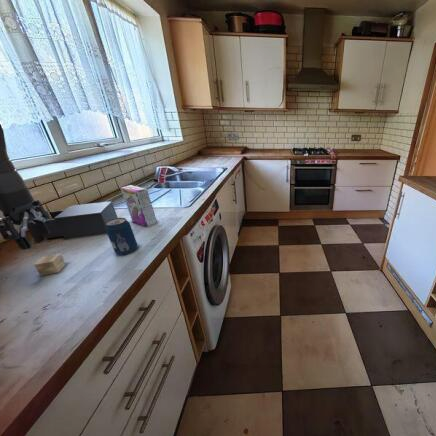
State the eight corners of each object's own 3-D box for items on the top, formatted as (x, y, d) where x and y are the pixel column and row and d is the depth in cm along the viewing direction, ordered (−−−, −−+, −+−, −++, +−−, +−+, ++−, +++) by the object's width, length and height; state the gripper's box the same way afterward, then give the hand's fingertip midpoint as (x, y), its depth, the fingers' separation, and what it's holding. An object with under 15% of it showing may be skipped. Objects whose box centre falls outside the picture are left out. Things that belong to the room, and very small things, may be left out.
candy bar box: (131, 222, 102) (119, 187, 95) (142, 218, 106) (131, 184, 99) (147, 227, 97) (135, 191, 90) (158, 223, 101) (147, 188, 94)
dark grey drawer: (19, 243, 85) (8, 225, 81) (38, 229, 95) (28, 212, 91) (78, 235, 90) (69, 217, 87) (90, 222, 100) (83, 206, 96)
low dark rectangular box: (65, 239, 89) (53, 218, 85) (80, 225, 100) (70, 205, 95) (109, 233, 93) (100, 212, 89) (119, 220, 104) (111, 201, 99)
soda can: (131, 243, 86) (120, 215, 81) (142, 248, 83) (132, 219, 78) (111, 253, 81) (98, 223, 75) (122, 258, 78) (110, 227, 72)
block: (40, 276, 70) (33, 264, 68) (49, 267, 74) (42, 256, 72) (59, 273, 71) (52, 261, 69) (66, 264, 75) (60, 253, 73)
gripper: (7, 182, 65) (36, 231, 72) (-38, 199, 53) (2, 256, 60) (40, 180, 67) (65, 227, 74) (4, 195, 55) (37, 251, 62)
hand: (36, 240), depth 67 cm, fingers open, 8 cm apart
